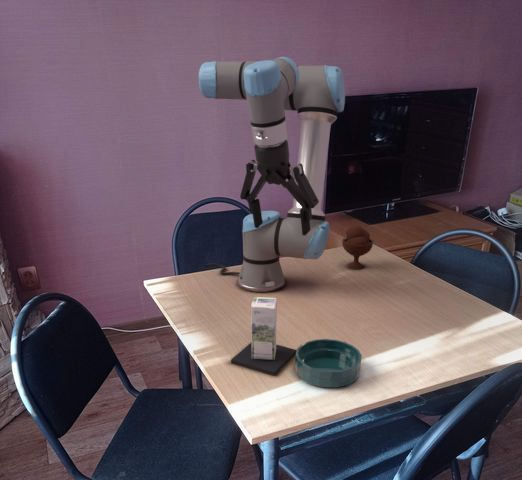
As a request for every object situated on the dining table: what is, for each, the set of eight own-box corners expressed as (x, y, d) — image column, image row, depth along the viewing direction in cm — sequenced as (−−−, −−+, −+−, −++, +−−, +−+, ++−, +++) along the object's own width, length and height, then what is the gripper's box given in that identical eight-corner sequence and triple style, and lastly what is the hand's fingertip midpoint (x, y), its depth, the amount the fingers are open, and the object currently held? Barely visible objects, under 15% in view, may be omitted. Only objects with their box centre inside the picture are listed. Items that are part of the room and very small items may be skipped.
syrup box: (276, 349, 127) (277, 296, 120) (274, 361, 122) (275, 306, 115) (254, 348, 127) (253, 295, 120) (251, 360, 122) (250, 306, 115)
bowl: (284, 377, 117) (284, 361, 115) (311, 349, 129) (311, 333, 127) (346, 395, 111) (347, 378, 109) (368, 364, 123) (370, 348, 120)
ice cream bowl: (364, 274, 174) (368, 231, 167) (335, 268, 179) (338, 226, 172) (375, 264, 182) (380, 223, 175) (347, 259, 187) (350, 219, 180)
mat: (231, 363, 123) (230, 359, 123) (255, 342, 132) (255, 338, 132) (274, 375, 118) (274, 372, 118) (296, 353, 127) (296, 349, 127)
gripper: (215, 145, 115) (232, 229, 128) (313, 152, 103) (320, 243, 117) (233, 133, 119) (248, 215, 133) (329, 138, 107) (334, 228, 121)
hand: (282, 229), depth 125 cm, fingers open, 13 cm apart
